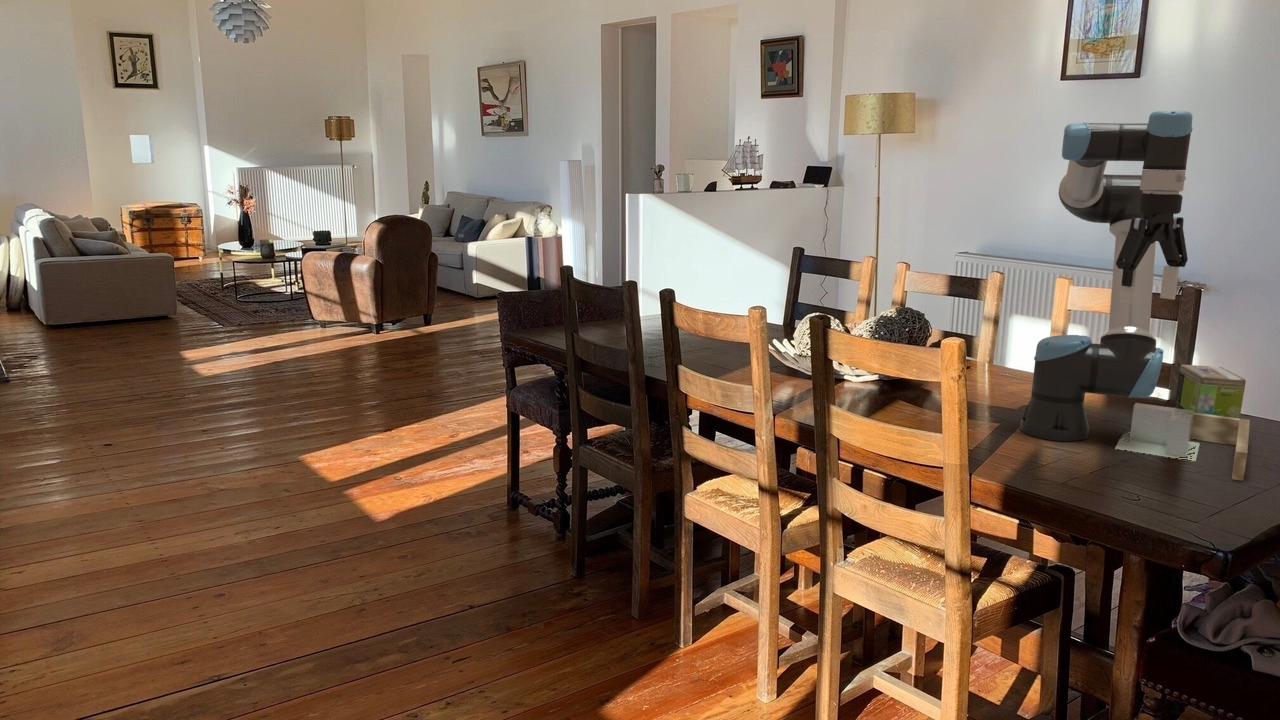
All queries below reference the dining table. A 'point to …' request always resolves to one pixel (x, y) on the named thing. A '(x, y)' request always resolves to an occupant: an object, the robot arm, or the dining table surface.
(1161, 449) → the mat
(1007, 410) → the dining table surface
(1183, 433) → the bracket
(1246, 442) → the wooden corner fence
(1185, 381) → the tea box
